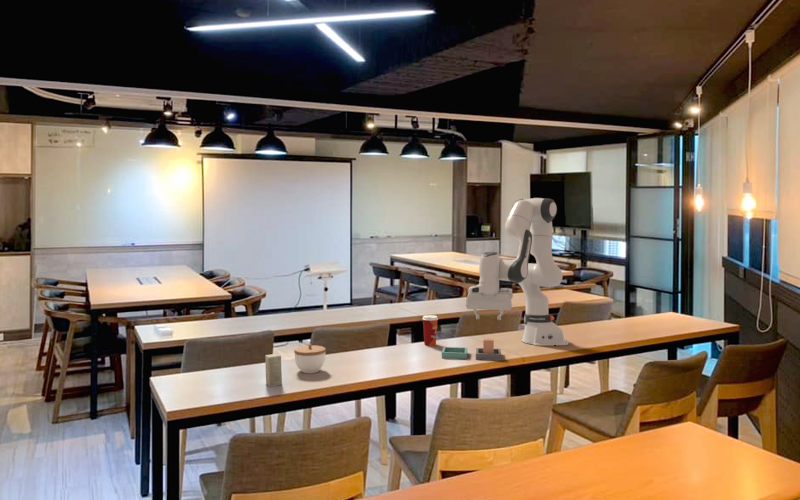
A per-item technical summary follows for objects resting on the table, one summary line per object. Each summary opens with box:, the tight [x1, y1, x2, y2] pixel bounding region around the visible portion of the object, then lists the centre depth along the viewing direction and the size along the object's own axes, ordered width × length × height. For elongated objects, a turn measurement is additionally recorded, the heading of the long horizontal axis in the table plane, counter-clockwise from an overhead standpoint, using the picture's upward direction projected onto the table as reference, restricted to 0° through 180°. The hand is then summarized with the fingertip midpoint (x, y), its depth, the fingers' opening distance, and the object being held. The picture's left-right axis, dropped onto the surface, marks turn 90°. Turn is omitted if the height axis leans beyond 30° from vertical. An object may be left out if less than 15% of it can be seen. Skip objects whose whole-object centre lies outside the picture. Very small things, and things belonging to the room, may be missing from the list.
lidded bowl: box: [293, 343, 327, 374], centre depth 235 cm, size 13×13×11 cm
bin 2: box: [475, 347, 502, 361], centre depth 258 cm, size 11×11×2 cm
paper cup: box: [422, 314, 439, 347], centre depth 282 cm, size 8×8×14 cm
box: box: [264, 353, 283, 387], centre depth 216 cm, size 5×4×11 cm
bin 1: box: [441, 346, 468, 360], centre depth 261 cm, size 11×11×2 cm
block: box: [482, 337, 495, 354], centre depth 258 cm, size 4×5×8 cm
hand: (488, 319), depth 257 cm, fingers open, 8 cm apart
